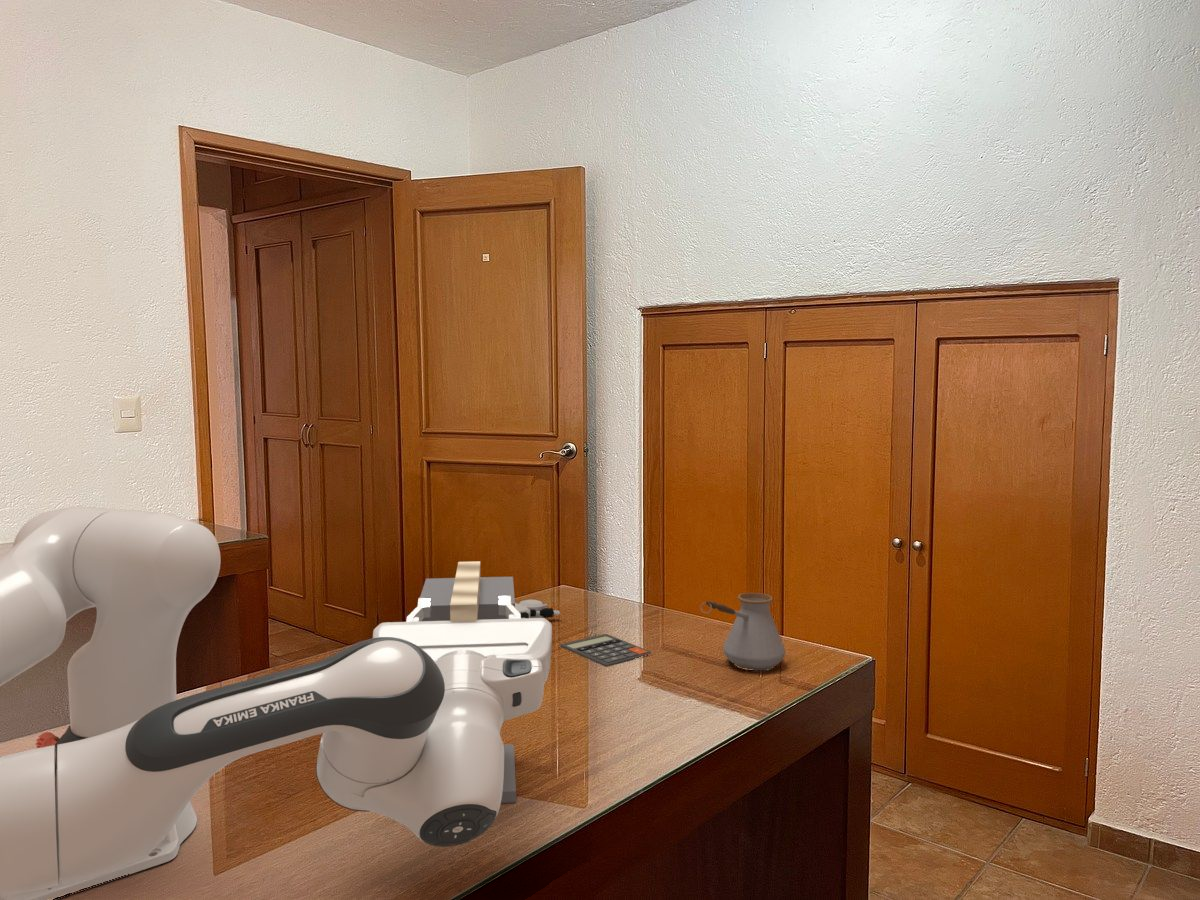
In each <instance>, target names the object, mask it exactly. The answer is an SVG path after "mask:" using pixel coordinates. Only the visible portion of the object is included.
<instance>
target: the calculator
mask: <svg viewBox="0 0 1200 900" xmlns="http://www.w3.org/2000/svg"><path fill="white" fill-rule="evenodd" d="M559 645H560V646H559V647H560V648H563V649H565V650H567V651H569V652H571V653H574V654H576V655H579V656H581V657H583V658H585V659H587V658H588V660H589V659H590V661H591V662H594V663H597V664H599V665H601V666H603V667H605V668H606V667H607V668H608V667H611V666H615V665H618V664H622V663H623V664H624V663H625V662H626V661H627V662H630V660H631V661H634V660H633V659H635V658H639V657H641V656H645V655H648V654H651V652H652V651H650V650H648V649H646V648H642V647H640V646H638V645H635V644H633V643H631V642H628V641H625V640H623V639H620V638H618V637H615V636H613V635H610V634H608V633H603V634H599V635H594V636H590V637H586V638H582V639H578V640H573V641H569V642H564V643H560V644H559ZM639 659H640V658H639ZM635 660H636V659H635ZM627 662H626V663H627Z"/></svg>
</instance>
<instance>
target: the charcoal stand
mask: <svg viewBox="0 0 1200 900" xmlns="http://www.w3.org/2000/svg"><path fill="white" fill-rule="evenodd" d="M454 582H455V577H442V578H440V577H439V578H438V577H437V578H436V577H434V578H425V581H424V584H423V587H422V590H421V593H420V596H419V598H431V617H427V618H423V620H422V621H450V603H451V598H452V593H453V587H454ZM514 588H515V585H514V576H487V577H486V576H483V577H481V576H480V592H479V605H478V618H477V620H486V619H508V618H507V617H506V615H499V596H509V595H511V605H513V606H514V607H515V603H516V601H515V589H514ZM416 607H418V604H417V605H416ZM503 745H504V780H503V792H502V799H501V804H509V803H517V786H516V785H517V783H516V764H515V762H516V761H515V744H513V743H512V744H503Z"/></svg>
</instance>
